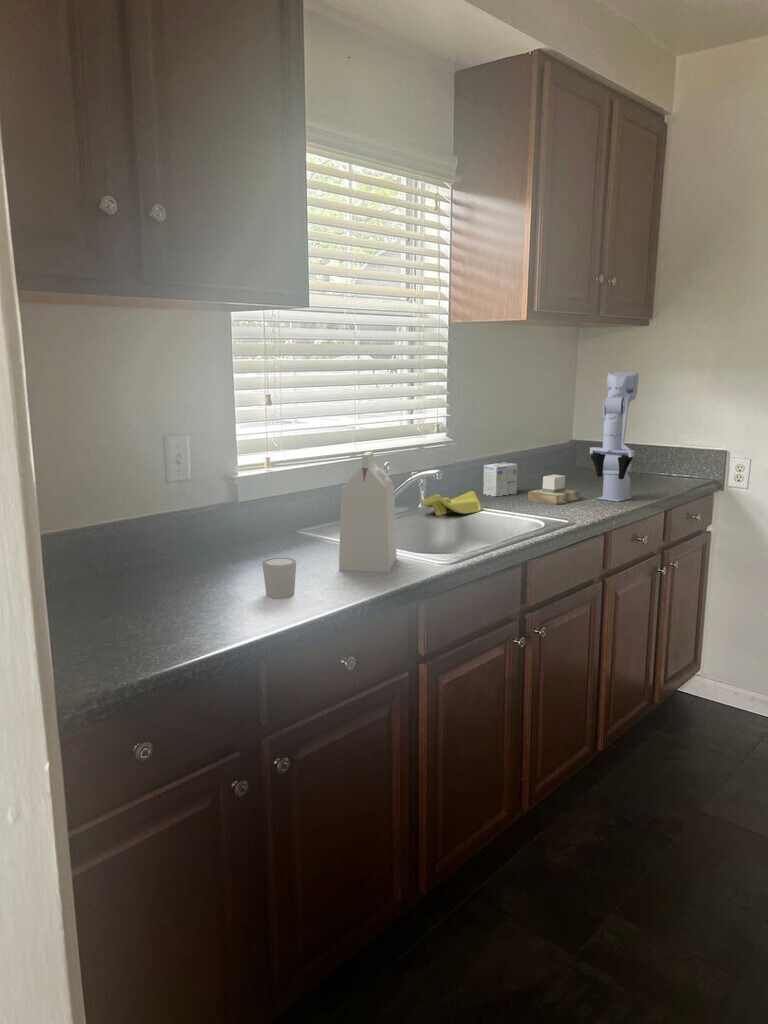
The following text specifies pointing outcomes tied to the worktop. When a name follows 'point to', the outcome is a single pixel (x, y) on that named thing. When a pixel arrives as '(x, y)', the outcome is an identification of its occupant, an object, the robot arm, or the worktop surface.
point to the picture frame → (553, 496)
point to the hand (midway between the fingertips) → (610, 477)
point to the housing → (553, 483)
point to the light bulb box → (500, 479)
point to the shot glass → (279, 577)
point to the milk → (368, 520)
